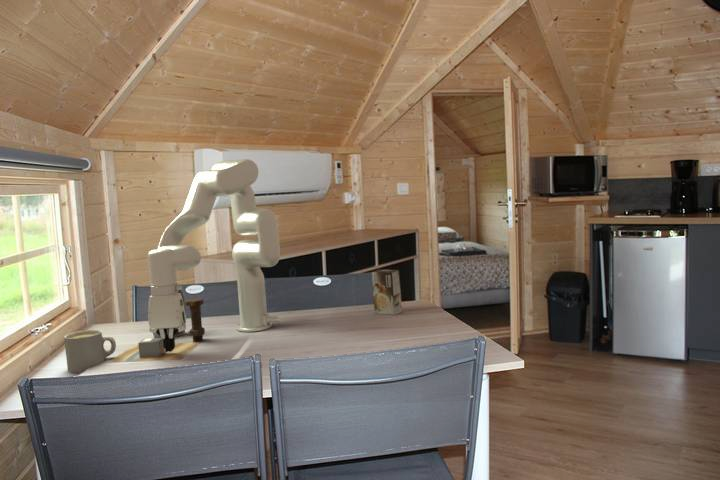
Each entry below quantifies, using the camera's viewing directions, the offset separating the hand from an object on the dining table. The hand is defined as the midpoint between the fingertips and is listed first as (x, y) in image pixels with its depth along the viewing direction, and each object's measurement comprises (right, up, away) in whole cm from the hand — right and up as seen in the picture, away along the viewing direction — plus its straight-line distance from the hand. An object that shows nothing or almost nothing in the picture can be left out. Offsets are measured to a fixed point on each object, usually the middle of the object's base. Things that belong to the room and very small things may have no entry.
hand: (169, 350), depth 176 cm
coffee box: (+68, +5, +45) cm, 82 cm away
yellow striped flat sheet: (-5, -3, +4) cm, 7 cm away
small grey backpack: (-9, -1, +26) cm, 27 cm away
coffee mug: (-22, -4, -3) cm, 22 cm away
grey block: (-5, -1, 0) cm, 5 cm away
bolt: (+5, -1, +14) cm, 15 cm away
